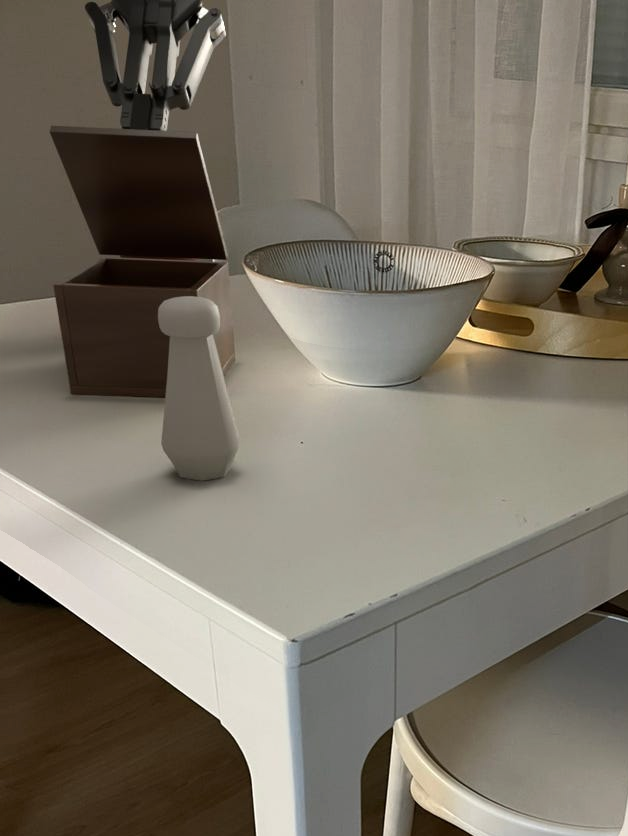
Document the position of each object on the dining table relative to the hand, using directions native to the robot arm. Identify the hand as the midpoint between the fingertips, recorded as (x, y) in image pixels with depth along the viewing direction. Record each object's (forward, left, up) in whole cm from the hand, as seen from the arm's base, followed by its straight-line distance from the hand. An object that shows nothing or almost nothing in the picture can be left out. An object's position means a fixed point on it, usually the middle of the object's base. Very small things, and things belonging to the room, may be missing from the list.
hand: (138, 164), depth 93 cm
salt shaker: (+10, -26, -19) cm, 34 cm away
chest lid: (0, +1, -3) cm, 3 cm away
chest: (0, -1, -19) cm, 19 cm away
